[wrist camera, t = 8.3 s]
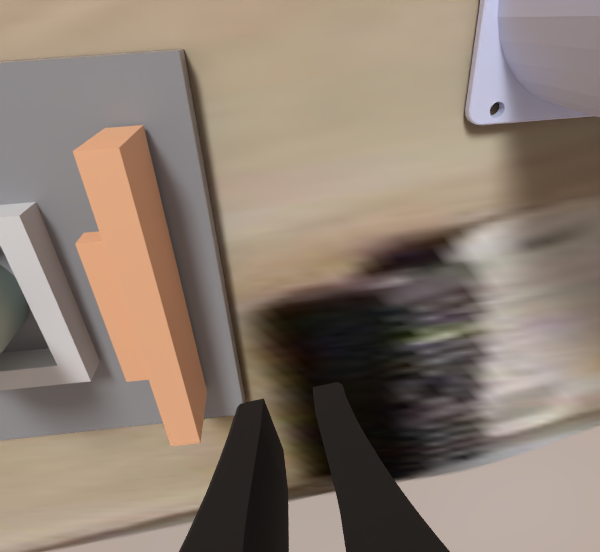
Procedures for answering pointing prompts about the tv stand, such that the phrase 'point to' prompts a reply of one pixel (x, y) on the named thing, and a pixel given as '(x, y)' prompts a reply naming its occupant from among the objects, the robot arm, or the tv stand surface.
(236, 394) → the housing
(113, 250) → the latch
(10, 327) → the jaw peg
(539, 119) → the robot arm
